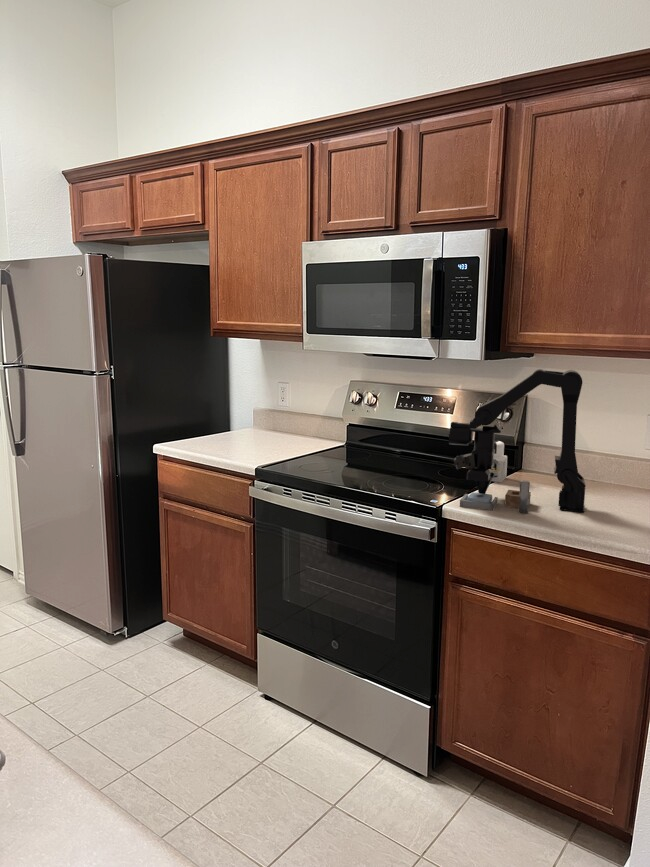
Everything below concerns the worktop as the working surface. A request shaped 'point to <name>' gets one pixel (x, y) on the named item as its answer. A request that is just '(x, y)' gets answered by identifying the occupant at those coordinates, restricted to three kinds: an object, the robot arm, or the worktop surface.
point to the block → (480, 497)
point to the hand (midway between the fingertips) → (481, 497)
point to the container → (499, 462)
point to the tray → (478, 503)
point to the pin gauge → (524, 497)
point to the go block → (513, 498)
